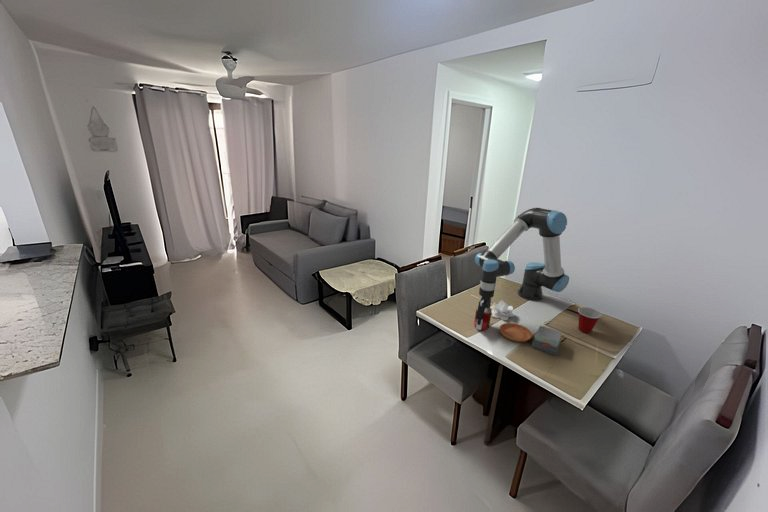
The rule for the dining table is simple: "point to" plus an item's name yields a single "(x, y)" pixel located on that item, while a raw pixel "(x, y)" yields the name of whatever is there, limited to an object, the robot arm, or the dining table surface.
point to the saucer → (515, 332)
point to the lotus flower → (502, 310)
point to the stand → (547, 340)
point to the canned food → (484, 318)
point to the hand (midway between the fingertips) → (481, 325)
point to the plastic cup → (587, 319)
